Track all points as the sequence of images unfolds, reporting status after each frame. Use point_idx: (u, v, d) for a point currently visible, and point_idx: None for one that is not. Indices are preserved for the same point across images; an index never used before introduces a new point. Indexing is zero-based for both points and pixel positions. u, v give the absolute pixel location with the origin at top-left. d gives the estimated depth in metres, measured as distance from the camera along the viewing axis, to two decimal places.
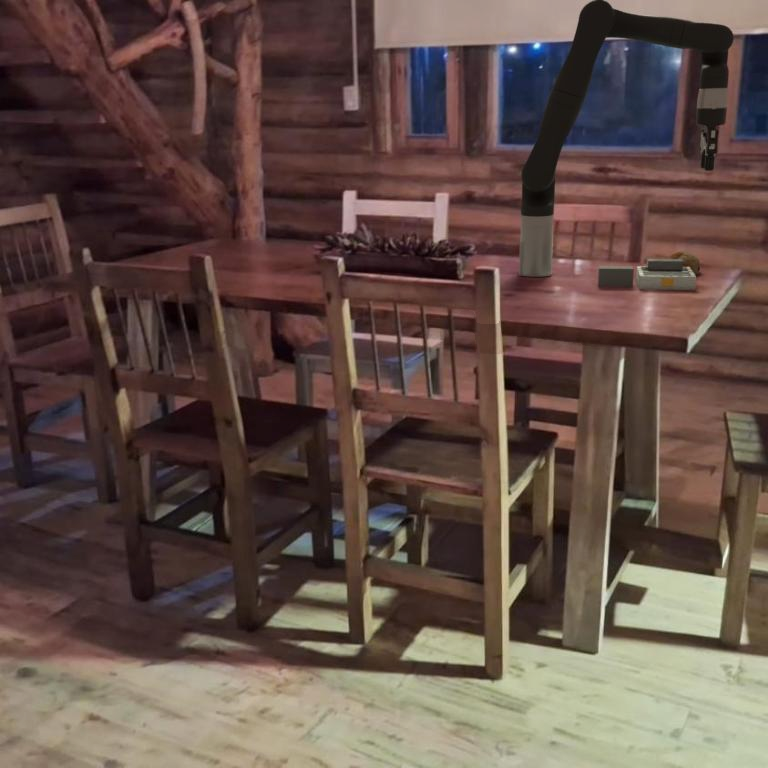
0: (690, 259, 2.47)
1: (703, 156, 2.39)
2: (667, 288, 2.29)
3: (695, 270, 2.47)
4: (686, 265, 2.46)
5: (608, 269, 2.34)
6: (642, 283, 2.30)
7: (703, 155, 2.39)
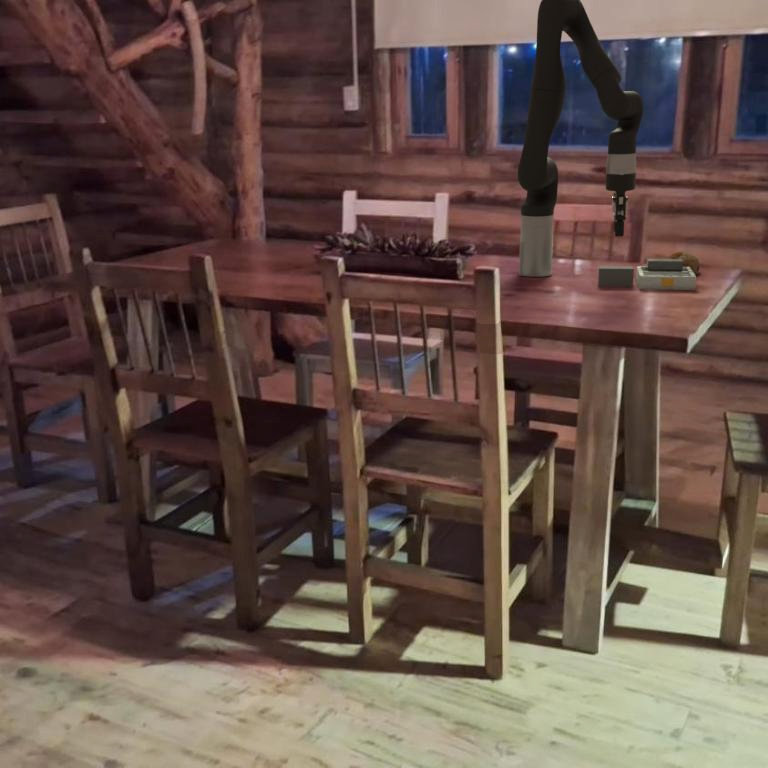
0: (690, 259, 2.47)
1: None
2: (667, 288, 2.29)
3: (694, 270, 2.47)
4: (685, 265, 2.46)
5: (608, 269, 2.34)
6: (642, 283, 2.30)
7: None
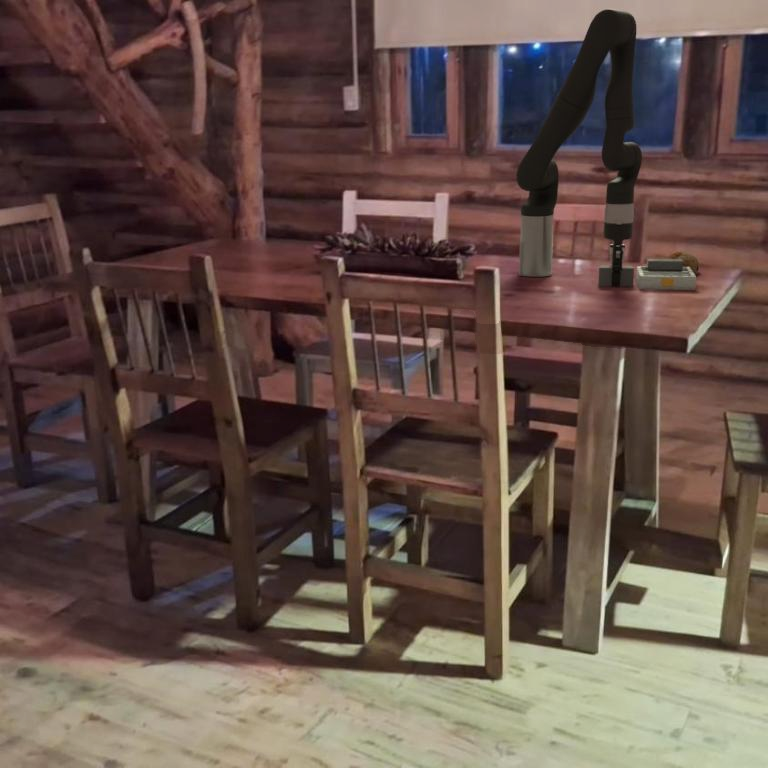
0: (689, 259, 2.47)
1: None
2: (667, 288, 2.29)
3: (694, 270, 2.47)
4: (685, 265, 2.46)
5: (608, 268, 2.34)
6: (642, 283, 2.30)
7: None
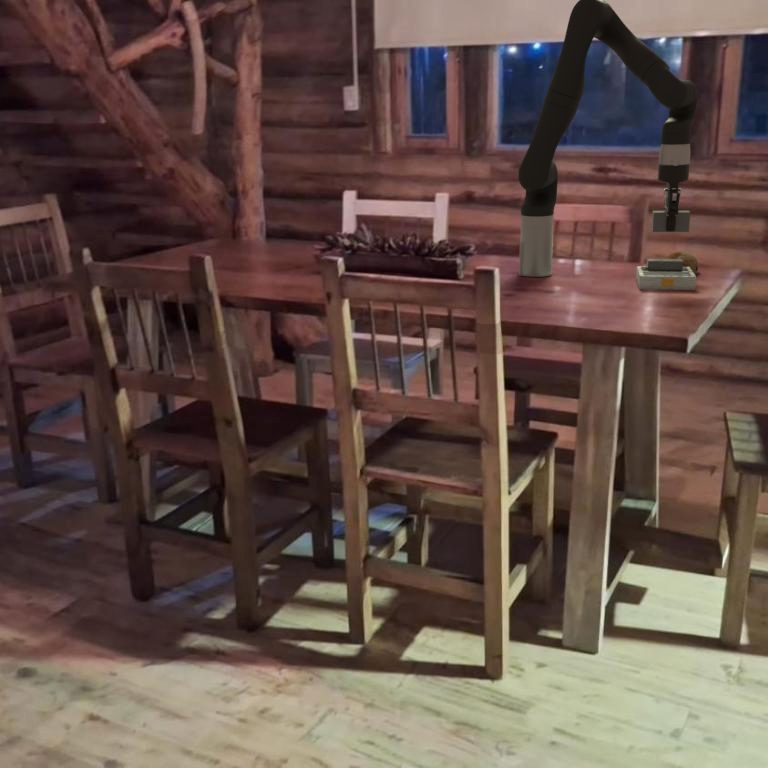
0: (688, 259, 2.47)
1: None
2: (667, 288, 2.29)
3: (693, 270, 2.47)
4: (684, 265, 2.46)
5: (663, 213, 2.25)
6: (642, 283, 2.30)
7: None
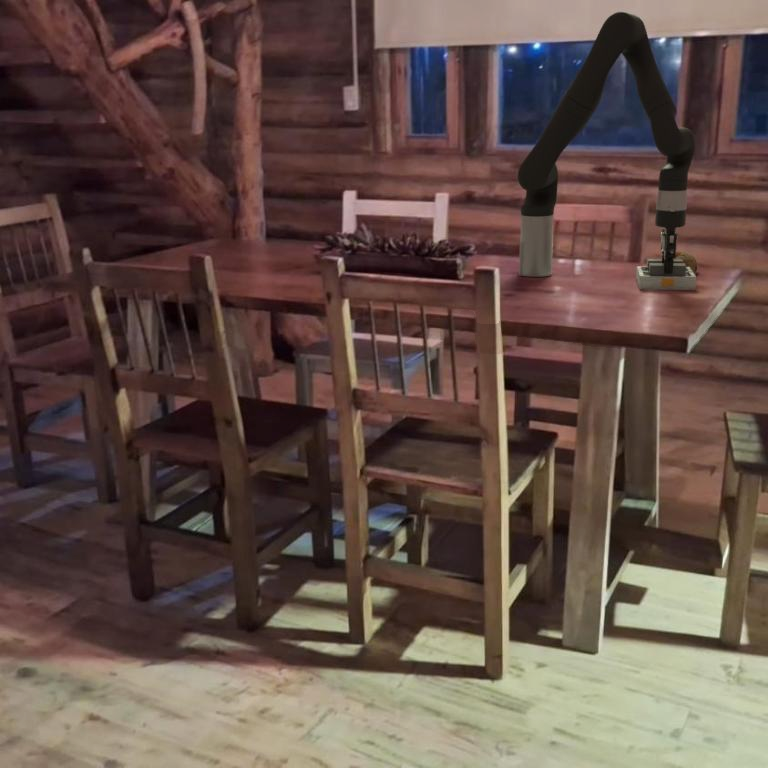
0: (688, 259, 2.47)
1: (664, 257, 2.34)
2: (667, 288, 2.29)
3: (692, 270, 2.47)
4: None
5: (659, 266, 2.30)
6: (642, 283, 2.30)
7: (664, 256, 2.34)
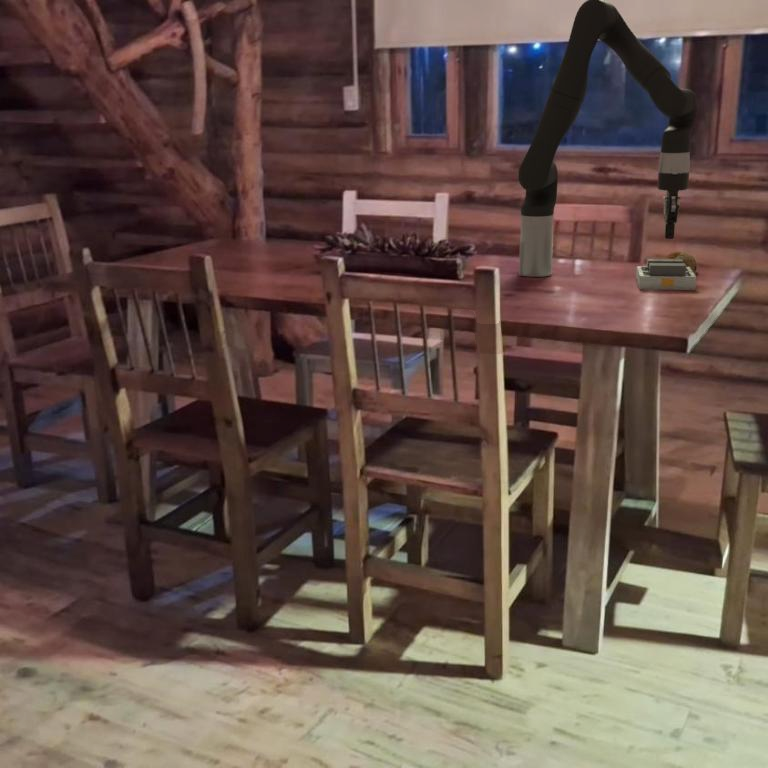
0: (687, 259, 2.47)
1: None
2: (667, 288, 2.29)
3: (692, 270, 2.47)
4: None
5: (659, 266, 2.30)
6: (642, 283, 2.30)
7: None
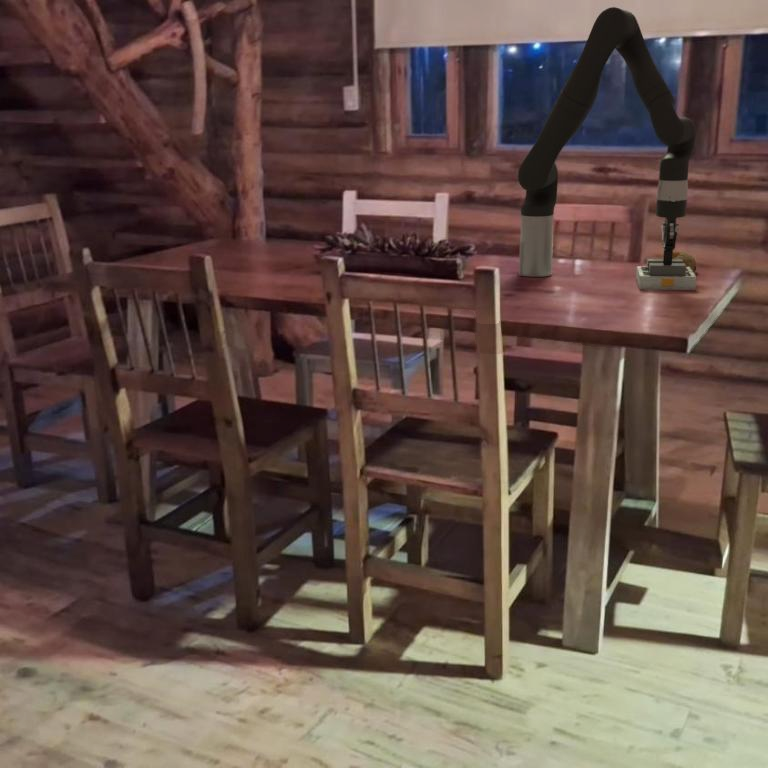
0: (687, 259, 2.47)
1: None
2: (667, 288, 2.29)
3: None
4: None
5: (659, 266, 2.30)
6: (642, 283, 2.30)
7: None
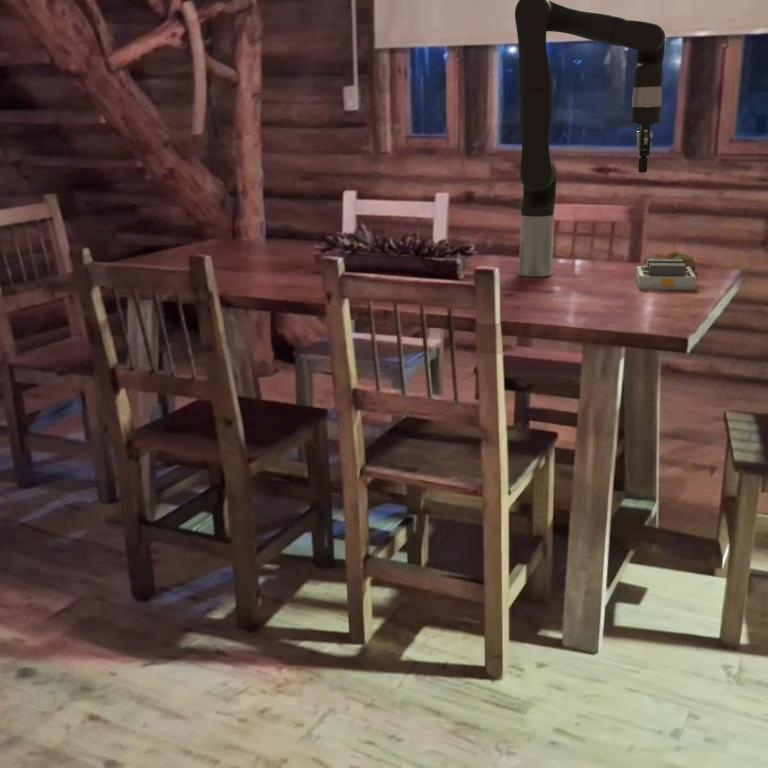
0: (686, 259, 2.47)
1: None
2: (667, 288, 2.29)
3: None
4: None
5: (659, 266, 2.30)
6: (642, 283, 2.30)
7: None
